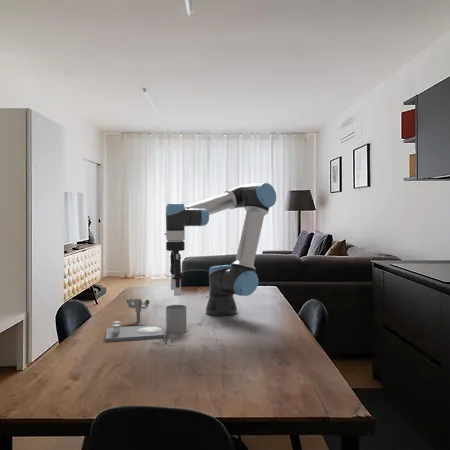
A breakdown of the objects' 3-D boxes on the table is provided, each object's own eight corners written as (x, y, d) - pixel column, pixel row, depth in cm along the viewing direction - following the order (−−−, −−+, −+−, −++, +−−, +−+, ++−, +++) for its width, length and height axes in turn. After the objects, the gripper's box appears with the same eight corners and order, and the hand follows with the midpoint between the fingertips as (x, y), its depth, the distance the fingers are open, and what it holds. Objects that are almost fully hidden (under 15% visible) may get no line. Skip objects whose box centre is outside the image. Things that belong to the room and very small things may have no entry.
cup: (166, 328, 185) (166, 305, 185) (186, 328, 186) (186, 304, 186) (165, 334, 177) (165, 309, 177) (186, 333, 178) (186, 308, 177)
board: (160, 327, 187) (160, 316, 187) (163, 337, 171) (163, 325, 171) (107, 330, 182) (106, 319, 182) (105, 341, 167) (105, 329, 167)
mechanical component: (147, 322, 195) (147, 300, 195) (126, 321, 197) (125, 299, 197) (150, 321, 198) (150, 299, 198) (129, 320, 200) (128, 298, 200)
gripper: (163, 239, 192) (164, 287, 192) (168, 243, 168) (169, 298, 168) (180, 239, 194) (181, 287, 194) (188, 242, 169) (188, 297, 170)
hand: (175, 292), depth 181 cm, fingers open, 13 cm apart
